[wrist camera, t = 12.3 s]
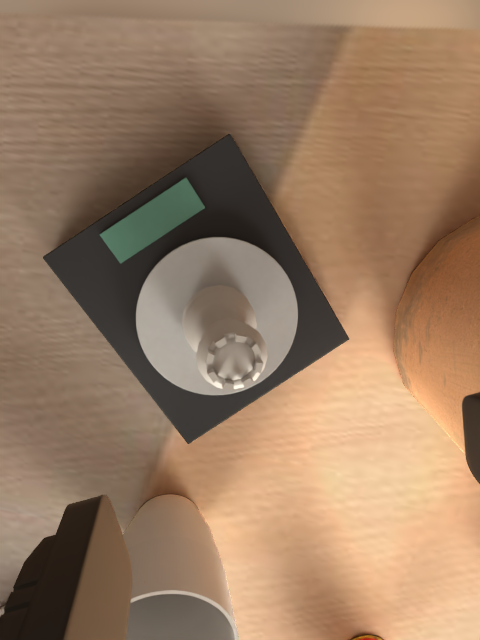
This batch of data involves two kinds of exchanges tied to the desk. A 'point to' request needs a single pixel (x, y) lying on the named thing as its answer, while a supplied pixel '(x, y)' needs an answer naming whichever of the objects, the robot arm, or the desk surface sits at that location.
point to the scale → (197, 283)
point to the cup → (176, 575)
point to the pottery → (443, 329)
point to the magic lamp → (367, 638)
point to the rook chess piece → (224, 337)
